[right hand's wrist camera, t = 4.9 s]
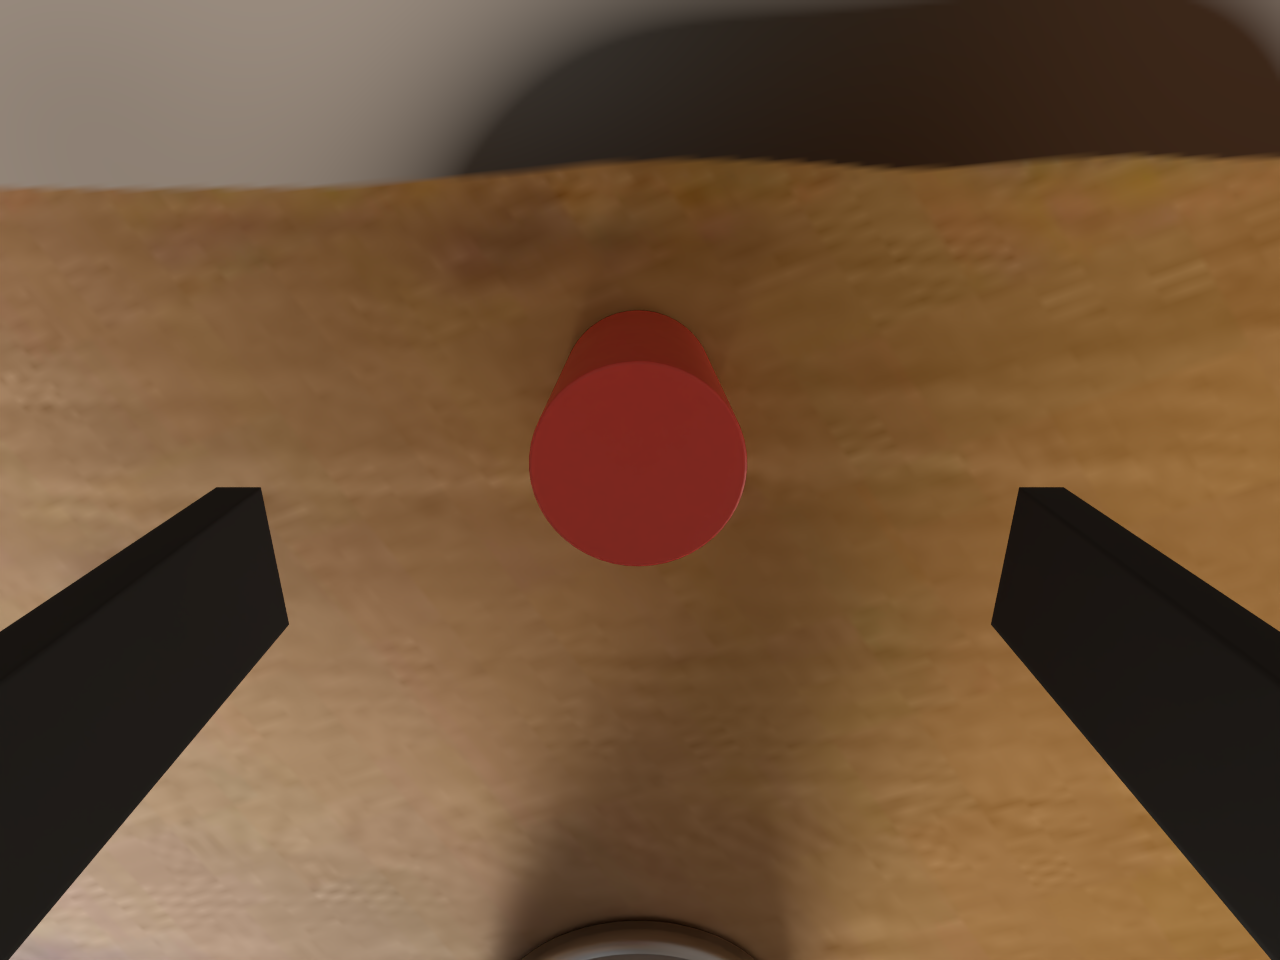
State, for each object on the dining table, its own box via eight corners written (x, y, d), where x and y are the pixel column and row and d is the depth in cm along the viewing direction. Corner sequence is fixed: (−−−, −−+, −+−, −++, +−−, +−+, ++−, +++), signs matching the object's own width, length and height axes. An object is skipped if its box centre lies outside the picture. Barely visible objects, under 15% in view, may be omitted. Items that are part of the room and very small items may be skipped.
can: (723, 319, 25) (765, 375, 16) (700, 463, 26) (728, 577, 18) (570, 301, 24) (536, 348, 16) (558, 447, 26) (521, 556, 18)
